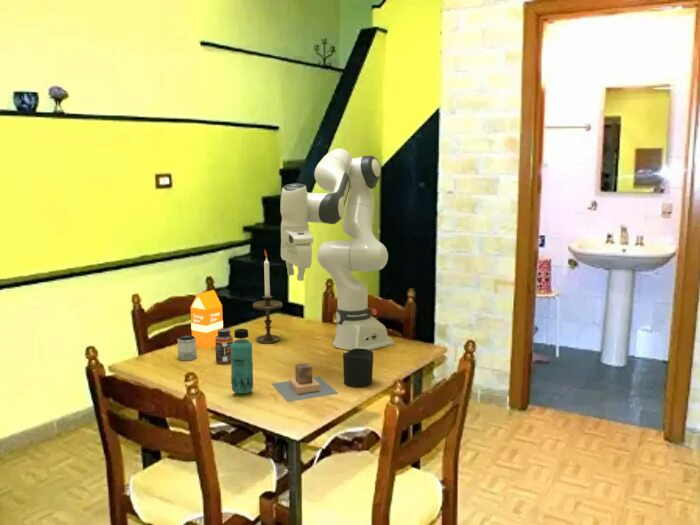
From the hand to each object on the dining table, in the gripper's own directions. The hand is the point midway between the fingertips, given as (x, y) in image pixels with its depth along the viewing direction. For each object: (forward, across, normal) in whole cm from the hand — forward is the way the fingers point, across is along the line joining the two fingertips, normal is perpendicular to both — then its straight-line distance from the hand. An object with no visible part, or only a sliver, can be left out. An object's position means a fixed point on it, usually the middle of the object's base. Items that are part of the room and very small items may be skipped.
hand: (295, 277), depth 215 cm
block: (+28, +18, -4) cm, 34 cm away
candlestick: (+31, -36, +1) cm, 48 cm away
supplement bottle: (+31, -18, -20) cm, 41 cm away
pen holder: (+31, +20, +13) cm, 39 cm away
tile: (+30, +14, -4) cm, 33 cm away
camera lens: (+31, -27, -31) cm, 52 cm away
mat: (+31, +18, -4) cm, 36 cm away
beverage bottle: (+31, +14, -22) cm, 41 cm away
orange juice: (+31, -41, -21) cm, 56 cm away
